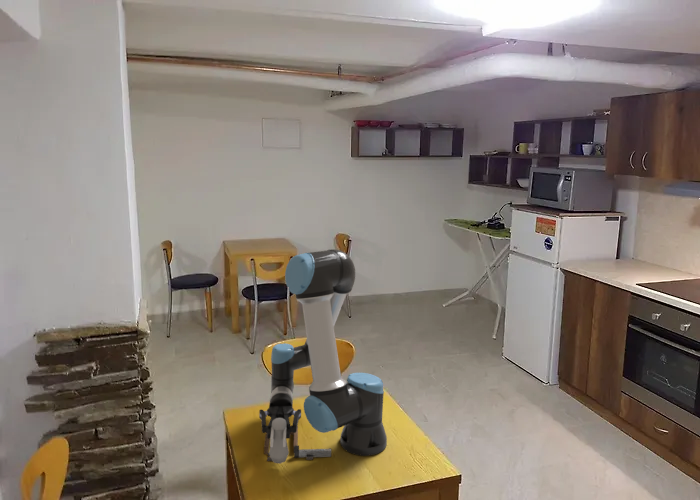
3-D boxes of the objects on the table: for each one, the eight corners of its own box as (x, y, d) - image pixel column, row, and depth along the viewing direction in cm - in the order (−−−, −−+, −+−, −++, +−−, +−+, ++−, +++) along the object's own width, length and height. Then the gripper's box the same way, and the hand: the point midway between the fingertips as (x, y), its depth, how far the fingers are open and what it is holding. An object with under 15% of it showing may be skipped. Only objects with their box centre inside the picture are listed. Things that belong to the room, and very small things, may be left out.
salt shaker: (285, 466, 160) (286, 426, 157) (266, 464, 160) (266, 424, 158) (290, 455, 165) (291, 416, 162) (272, 453, 166) (272, 414, 163)
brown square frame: (312, 432, 183) (312, 425, 183) (312, 459, 168) (313, 452, 167) (266, 433, 182) (266, 426, 182) (263, 461, 167) (263, 453, 166)
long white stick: (330, 454, 171) (331, 444, 170) (331, 456, 169) (331, 446, 169) (294, 455, 170) (294, 445, 169) (294, 457, 168) (294, 447, 168)
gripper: (305, 412, 180) (305, 454, 157) (256, 413, 178) (249, 455, 156) (305, 392, 178) (306, 430, 155) (256, 392, 177) (249, 431, 154)
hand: (278, 442), depth 156 cm, fingers closed on salt shaker, 3 cm apart
